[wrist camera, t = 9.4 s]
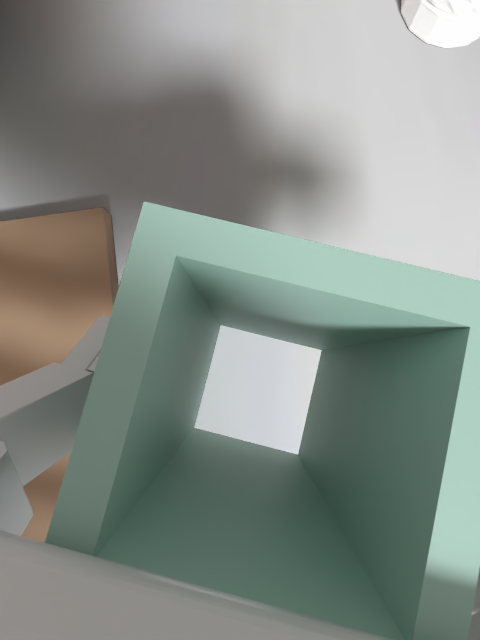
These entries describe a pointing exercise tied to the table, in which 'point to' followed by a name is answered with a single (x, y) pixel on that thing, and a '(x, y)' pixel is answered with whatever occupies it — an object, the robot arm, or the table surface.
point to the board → (51, 309)
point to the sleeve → (317, 441)
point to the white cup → (443, 21)
